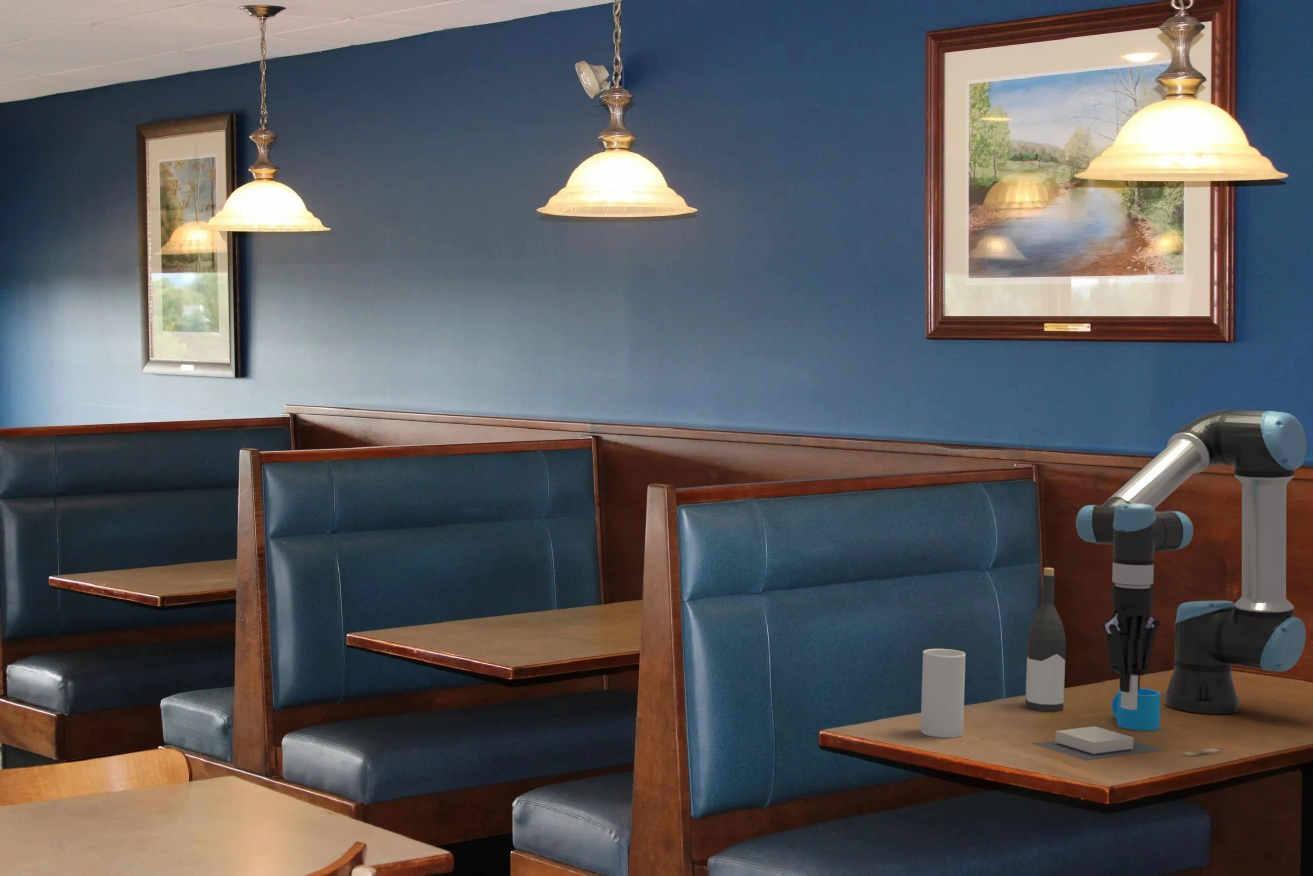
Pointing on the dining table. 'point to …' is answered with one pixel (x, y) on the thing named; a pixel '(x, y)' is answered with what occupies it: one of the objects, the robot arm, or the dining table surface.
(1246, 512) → the robot arm
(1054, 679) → the wine bottle
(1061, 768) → the dining table surface
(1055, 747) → the mat
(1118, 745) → the tile
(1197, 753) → the turner
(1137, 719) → the mug
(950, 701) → the cup
